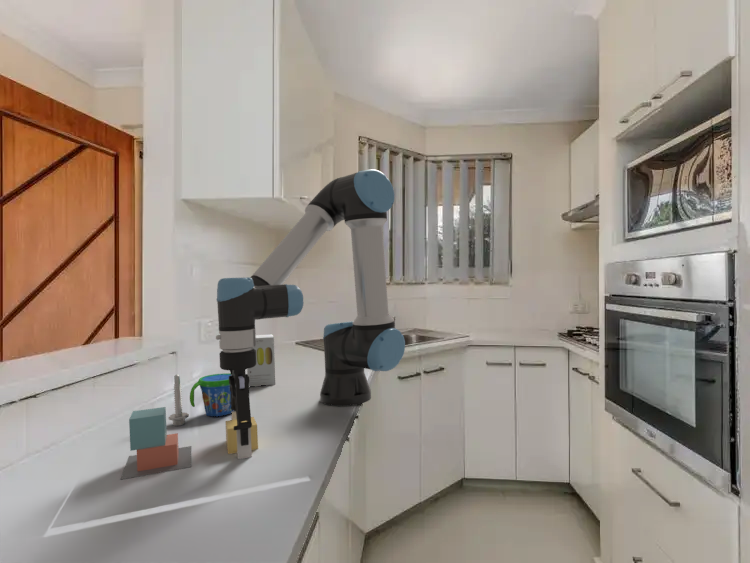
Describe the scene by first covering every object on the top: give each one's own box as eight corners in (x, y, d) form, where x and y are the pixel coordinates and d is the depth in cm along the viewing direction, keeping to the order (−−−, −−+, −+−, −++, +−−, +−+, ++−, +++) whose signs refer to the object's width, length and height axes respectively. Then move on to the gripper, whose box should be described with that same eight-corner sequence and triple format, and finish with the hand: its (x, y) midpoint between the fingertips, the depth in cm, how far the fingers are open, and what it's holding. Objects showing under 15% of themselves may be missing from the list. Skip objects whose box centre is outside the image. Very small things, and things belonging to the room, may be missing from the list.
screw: (170, 422, 118) (190, 420, 119) (167, 428, 113) (188, 425, 115) (168, 373, 118) (187, 371, 119) (165, 377, 113) (186, 375, 114)
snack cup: (242, 404, 133) (241, 369, 133) (254, 412, 124) (252, 375, 124) (186, 414, 124) (185, 378, 124) (194, 424, 116) (193, 384, 116)
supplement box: (247, 387, 154) (245, 338, 153) (247, 381, 162) (245, 335, 162) (276, 384, 156) (274, 336, 156) (274, 379, 165) (273, 333, 165)
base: (191, 449, 98) (190, 427, 98) (191, 470, 87) (190, 446, 87) (129, 459, 94) (128, 437, 93) (120, 483, 82) (119, 457, 82)
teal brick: (166, 435, 93) (165, 406, 93) (165, 445, 88) (163, 414, 88) (134, 440, 91) (132, 411, 91) (130, 450, 86) (129, 419, 86)
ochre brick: (254, 443, 101) (253, 416, 101) (258, 452, 95) (257, 424, 95) (226, 448, 98) (225, 421, 98) (228, 458, 93) (227, 429, 93)
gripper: (216, 343, 106) (220, 434, 107) (222, 359, 84) (227, 474, 84) (249, 341, 109) (252, 429, 109) (263, 355, 87) (267, 467, 87)
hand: (241, 449), depth 97 cm, fingers open, 12 cm apart
